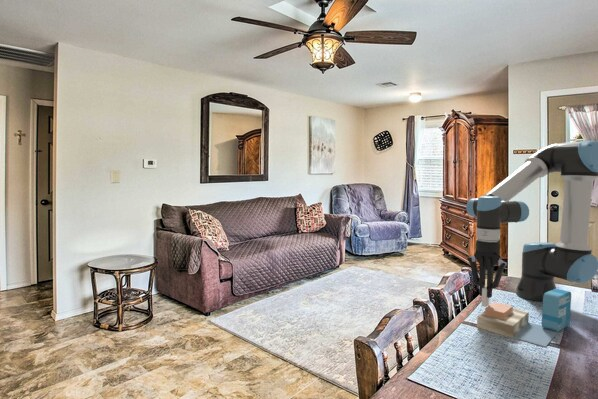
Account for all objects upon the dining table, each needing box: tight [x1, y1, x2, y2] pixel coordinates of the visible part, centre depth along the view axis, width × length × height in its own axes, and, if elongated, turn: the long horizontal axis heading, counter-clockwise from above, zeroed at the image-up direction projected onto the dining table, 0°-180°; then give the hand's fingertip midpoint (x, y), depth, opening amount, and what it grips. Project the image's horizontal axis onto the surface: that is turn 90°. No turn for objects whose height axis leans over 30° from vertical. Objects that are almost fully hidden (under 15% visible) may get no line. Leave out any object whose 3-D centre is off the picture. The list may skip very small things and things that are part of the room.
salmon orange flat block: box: [484, 301, 514, 319], centre depth 130 cm, size 9×6×2 cm, turn 134°
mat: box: [512, 321, 560, 348], centre depth 122 cm, size 17×9×1 cm, turn 134°
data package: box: [541, 288, 572, 333], centre depth 127 cm, size 12×4×12 cm, turn 127°
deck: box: [476, 307, 530, 339], centre depth 129 cm, size 17×11×4 cm, turn 134°
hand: (485, 305), depth 133 cm, fingers closed
